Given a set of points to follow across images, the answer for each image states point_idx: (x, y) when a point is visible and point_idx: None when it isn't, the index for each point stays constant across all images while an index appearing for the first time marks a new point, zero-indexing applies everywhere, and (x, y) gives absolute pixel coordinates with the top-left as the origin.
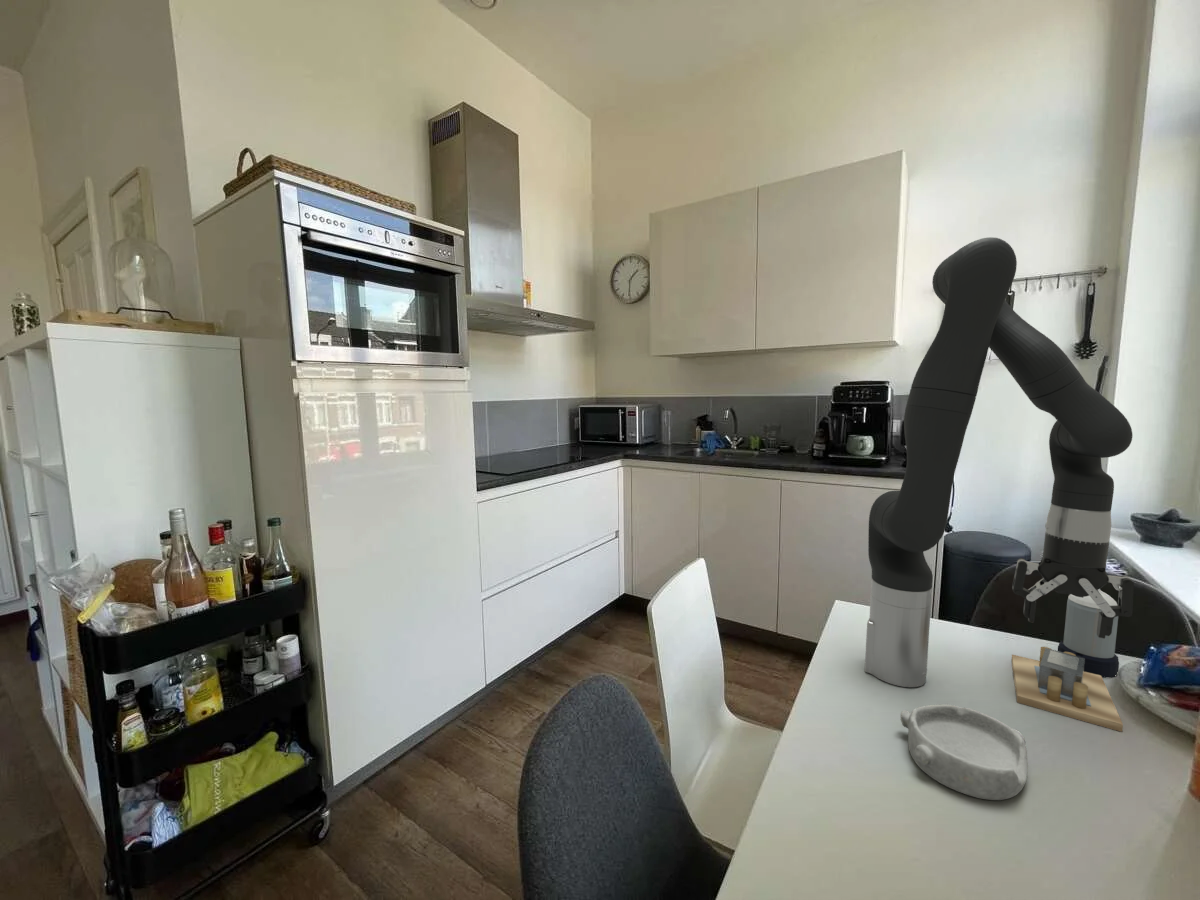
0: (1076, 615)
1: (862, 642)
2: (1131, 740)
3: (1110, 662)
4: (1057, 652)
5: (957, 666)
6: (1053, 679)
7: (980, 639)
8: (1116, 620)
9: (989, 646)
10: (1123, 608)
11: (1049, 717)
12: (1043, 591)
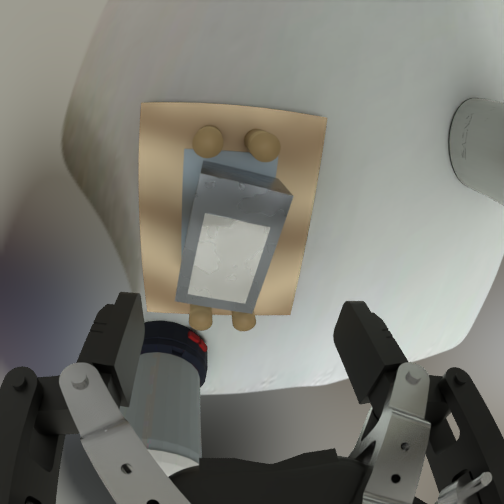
0: (184, 429)
1: (488, 232)
2: (138, 79)
3: None
4: (231, 299)
5: (391, 223)
6: (271, 139)
7: (316, 354)
8: None
9: (309, 338)
10: (22, 403)
11: (271, 83)
12: (407, 419)
